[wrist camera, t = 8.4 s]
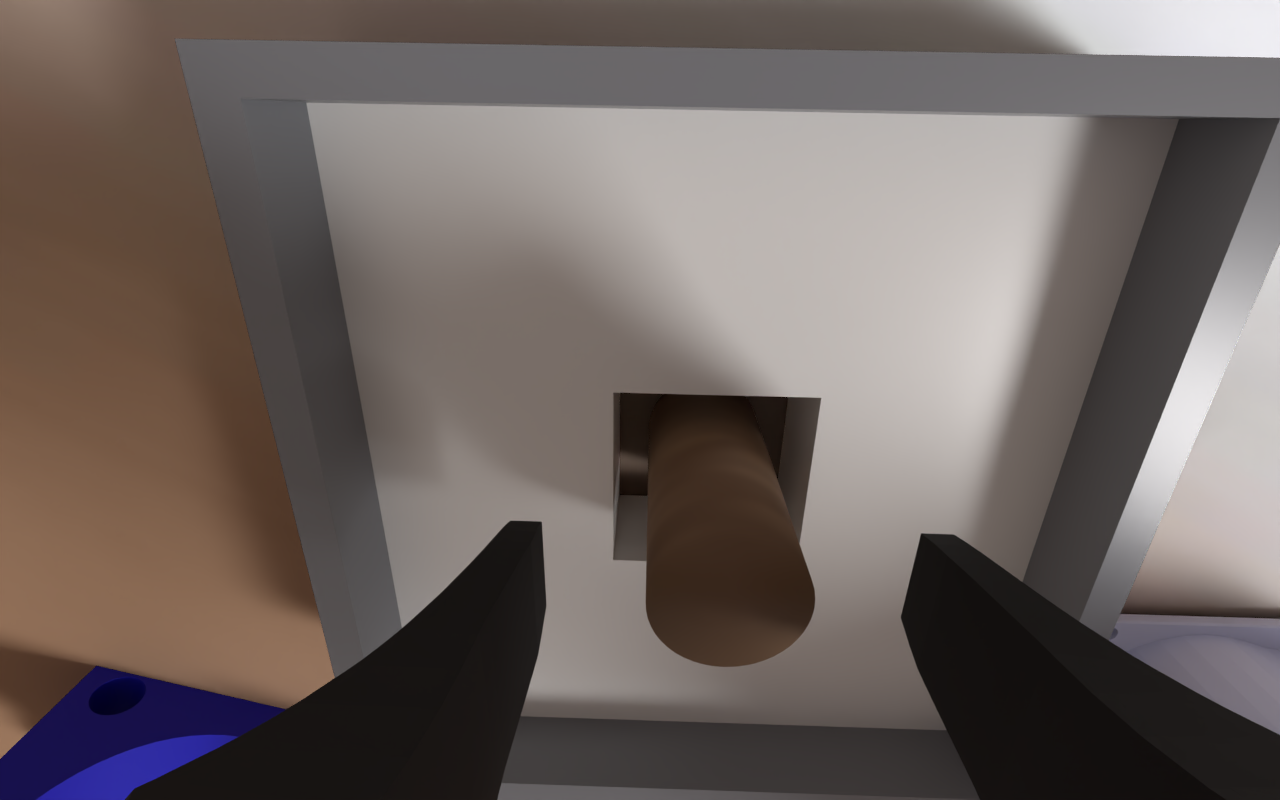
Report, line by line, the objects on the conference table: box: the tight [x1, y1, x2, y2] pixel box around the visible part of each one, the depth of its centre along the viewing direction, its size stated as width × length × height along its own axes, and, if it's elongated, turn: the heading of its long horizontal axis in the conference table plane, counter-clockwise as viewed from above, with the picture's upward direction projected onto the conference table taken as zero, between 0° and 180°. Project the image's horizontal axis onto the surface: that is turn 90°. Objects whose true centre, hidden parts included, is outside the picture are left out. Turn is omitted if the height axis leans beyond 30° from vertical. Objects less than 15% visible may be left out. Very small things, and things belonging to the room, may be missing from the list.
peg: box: [646, 394, 815, 667], centre depth 14 cm, size 3×3×7 cm
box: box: [175, 39, 1280, 800], centre depth 15 cm, size 18×18×5 cm
